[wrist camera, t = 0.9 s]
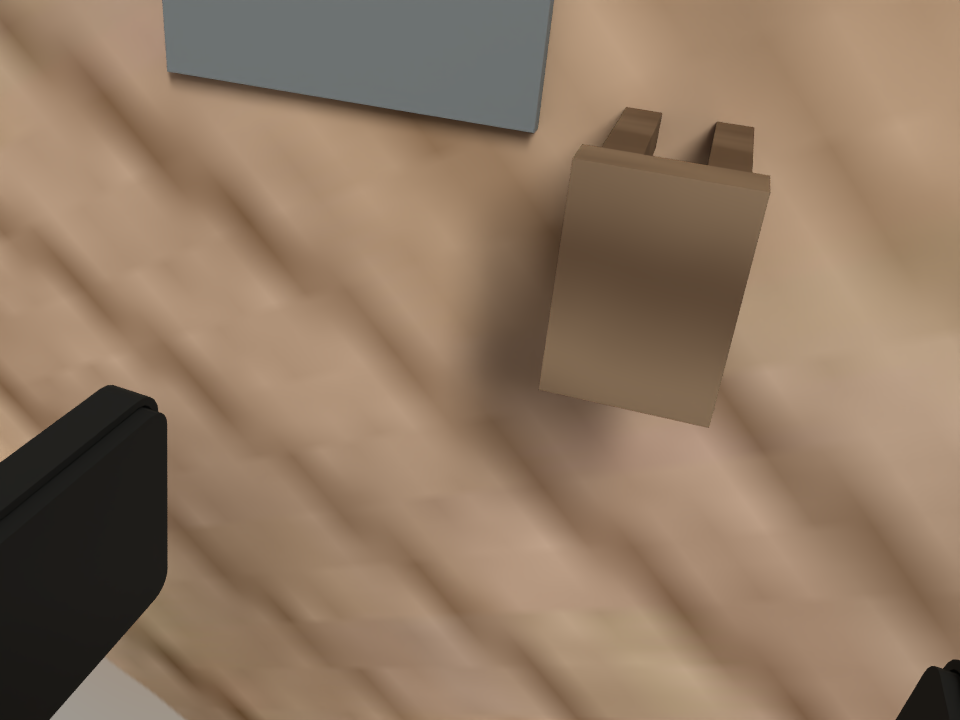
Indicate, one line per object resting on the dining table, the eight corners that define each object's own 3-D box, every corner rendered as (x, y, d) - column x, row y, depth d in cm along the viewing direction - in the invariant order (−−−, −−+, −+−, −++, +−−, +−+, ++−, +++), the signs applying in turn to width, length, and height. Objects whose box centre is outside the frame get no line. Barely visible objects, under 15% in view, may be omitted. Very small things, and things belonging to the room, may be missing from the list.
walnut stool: (720, 314, 33) (709, 428, 26) (584, 286, 34) (538, 389, 27) (769, 120, 29) (770, 192, 22) (616, 96, 30) (573, 158, 23)
